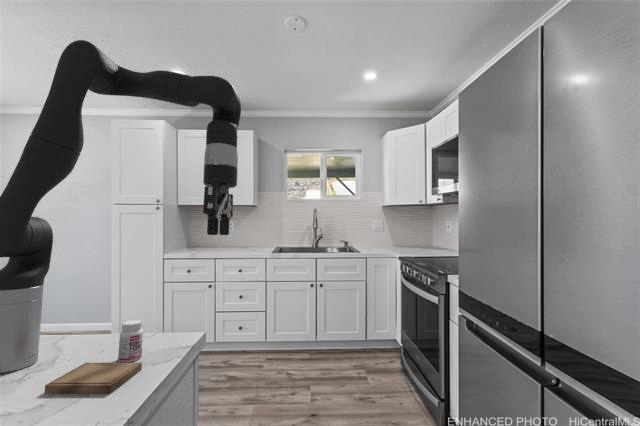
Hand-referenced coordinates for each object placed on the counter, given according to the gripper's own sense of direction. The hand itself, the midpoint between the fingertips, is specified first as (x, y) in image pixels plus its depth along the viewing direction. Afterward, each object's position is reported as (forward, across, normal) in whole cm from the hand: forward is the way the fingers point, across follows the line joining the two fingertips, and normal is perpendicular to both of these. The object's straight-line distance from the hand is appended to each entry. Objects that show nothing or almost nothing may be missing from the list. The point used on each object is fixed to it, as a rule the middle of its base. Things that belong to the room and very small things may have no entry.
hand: (218, 235), depth 71 cm
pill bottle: (+30, -4, -21) cm, 36 cm away
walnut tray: (+29, +7, -21) cm, 37 cm away
